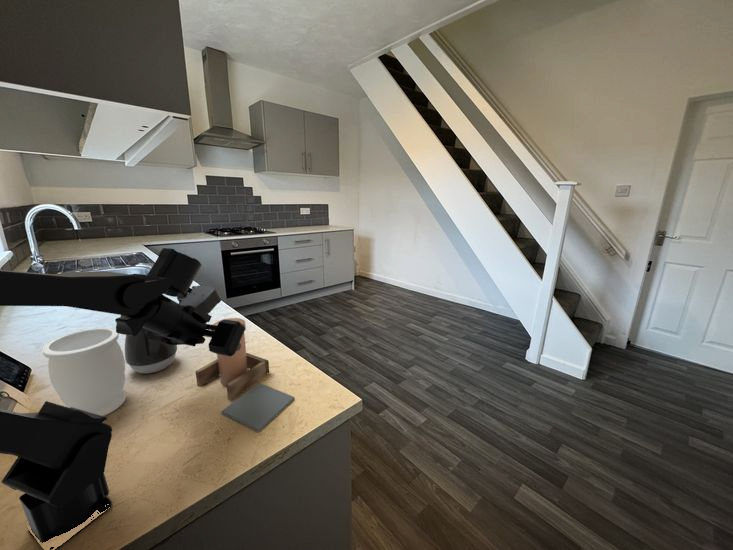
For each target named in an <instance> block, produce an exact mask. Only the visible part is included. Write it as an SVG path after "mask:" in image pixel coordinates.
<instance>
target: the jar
mask: <svg viewBox="0 0 733 550" xmlns="http://www.w3.org/2000/svg"><path fill="white" fill-rule="evenodd" d="M118 340H119V333H117V332H116V328H110V327H96V328H89V329H84V330H78V331H74V332H71V333H67V334H65V335H62V336H59V337H57V338H55V339H53V340H51V341H50V342H47V343H46V344H45V345H43V347H42V350H41V351H42V354H43V356H44V357H45V358H47V359H48V361H47V363H48V364H47V368H48V369H47V370H48V374H49V376H48V377H49V379H50V383H51V385H52V386H53V389H54V391H56V393H57V395H58V397H59V398H60V400H61V402H62V403H63V404H64V405H65V407H68V408H70V407H73V408H76V409H80V410H83V411H86V412H90V413H93V414H97V415H100V416H104V417H106V415H109V414H110V413H113V412H115V410H117V409H118V408H120V407H121V406H122V405H123V404H124V403H125V401H126V399H127V395H126V393H125V392H124V391H123V390H124V387H125V383H126V373H125V372H126V360H125V355H124V353H123V350H122V348H121V345H120V344H119V343H118Z"/></svg>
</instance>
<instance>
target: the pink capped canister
mask: <svg viewBox="0 0 733 550" xmlns="http://www.w3.org/2000/svg"><path fill="white" fill-rule="evenodd" d="M225 319H226V320H233V321H239V322H240V323H242V324H244V326H245V330H244V333H243V335H242V337H241V340H240V344H241V348H240V350H238V351H236V352H235V354H234V355H232V356H231V357H230V356H225V355H220V354H216V355H217V356H216V357H217V359H218V366H219V381H220V385H222V386H223V387H226V388H227V386H226V385H227V384H228V383H230V382H231V381H233V380H234V379H236V378H237V377H239V376H240V375H242V374H244V373H245V372H247V371H248V370H249V368H248V367H247V356H246V353H247V349H246V348H247V347H246V335H245V332H246V329H247V327H246V320H245V319H242V318H239V317H238V318H237V317H230V318H225ZM222 320H223V319H221V320H218V321H216V322H214V323H213V324H212V325H218V323H219V322H220V321H222ZM211 331H213V330H211Z"/></svg>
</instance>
